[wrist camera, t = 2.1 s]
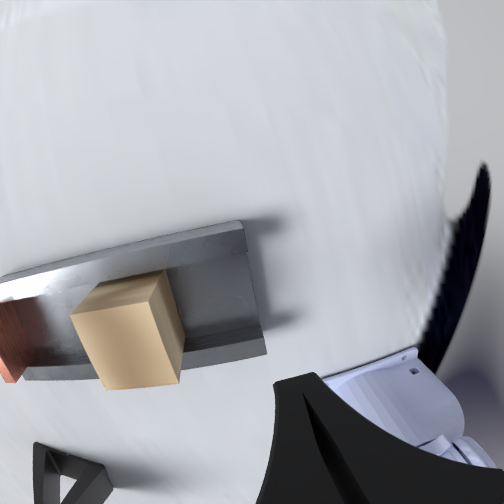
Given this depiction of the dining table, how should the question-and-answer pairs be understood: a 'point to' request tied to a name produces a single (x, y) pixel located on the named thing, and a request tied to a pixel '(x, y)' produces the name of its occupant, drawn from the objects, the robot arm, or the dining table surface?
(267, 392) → the dining table surface
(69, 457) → the phone stand
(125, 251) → the chute
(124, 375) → the oak block
